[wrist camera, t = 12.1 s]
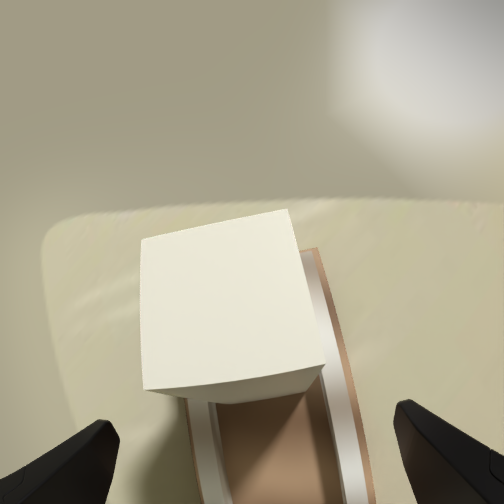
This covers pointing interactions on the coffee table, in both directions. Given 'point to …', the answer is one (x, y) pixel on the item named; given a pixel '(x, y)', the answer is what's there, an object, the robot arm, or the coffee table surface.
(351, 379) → the rail board
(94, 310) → the coffee table surface
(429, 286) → the coffee table surface
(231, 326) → the block
